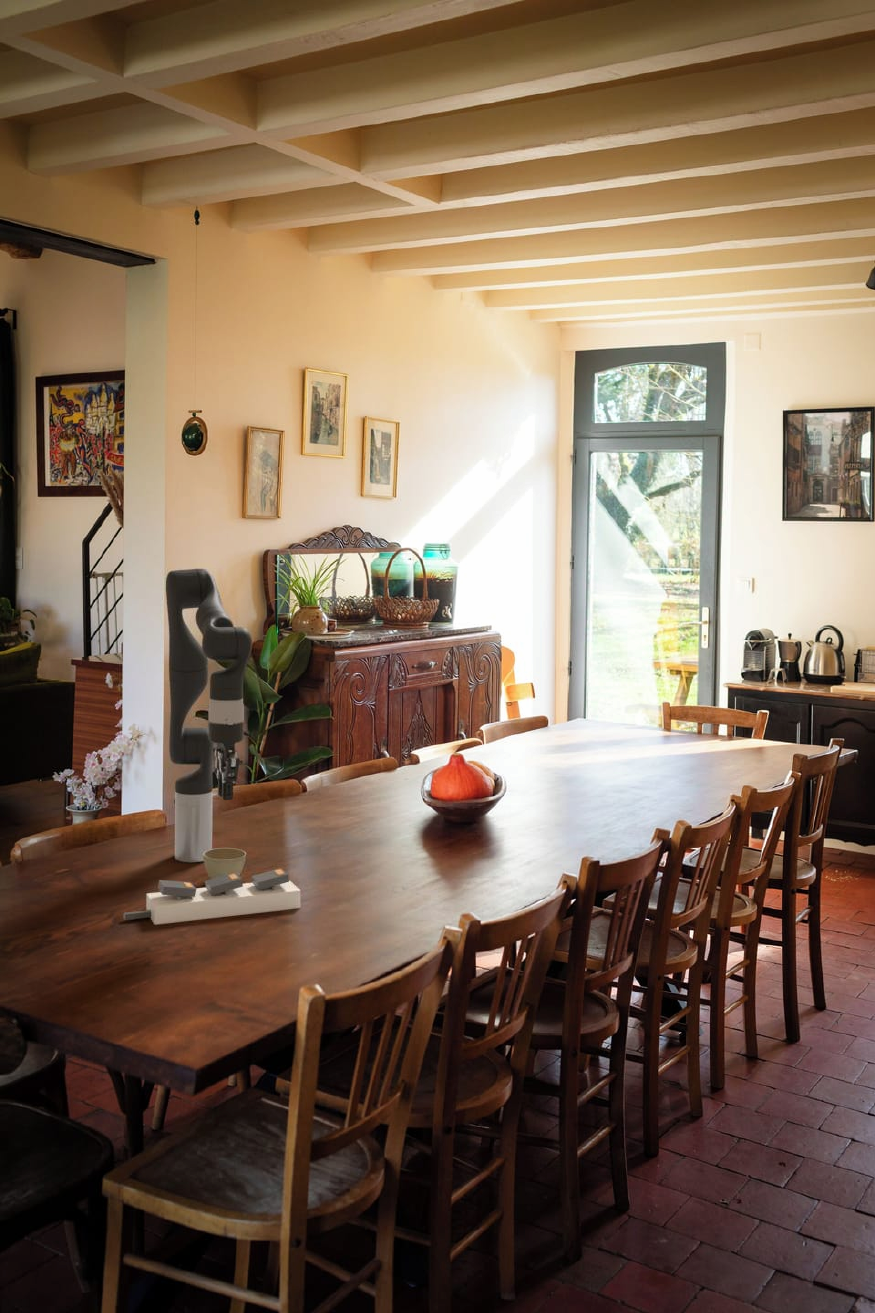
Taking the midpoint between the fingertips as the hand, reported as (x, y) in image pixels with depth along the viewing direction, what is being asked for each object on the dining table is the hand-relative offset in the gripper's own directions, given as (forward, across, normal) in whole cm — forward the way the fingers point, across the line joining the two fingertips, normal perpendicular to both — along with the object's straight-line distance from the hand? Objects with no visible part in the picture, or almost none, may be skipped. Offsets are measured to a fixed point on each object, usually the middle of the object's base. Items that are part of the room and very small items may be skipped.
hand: (225, 797), depth 254 cm
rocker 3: (+20, 0, +10) cm, 23 cm away
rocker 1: (+20, 0, -10) cm, 23 cm away
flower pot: (+25, -19, +5) cm, 32 cm away
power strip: (+25, 0, -3) cm, 25 cm away
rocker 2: (+20, 0, 0) cm, 20 cm away
